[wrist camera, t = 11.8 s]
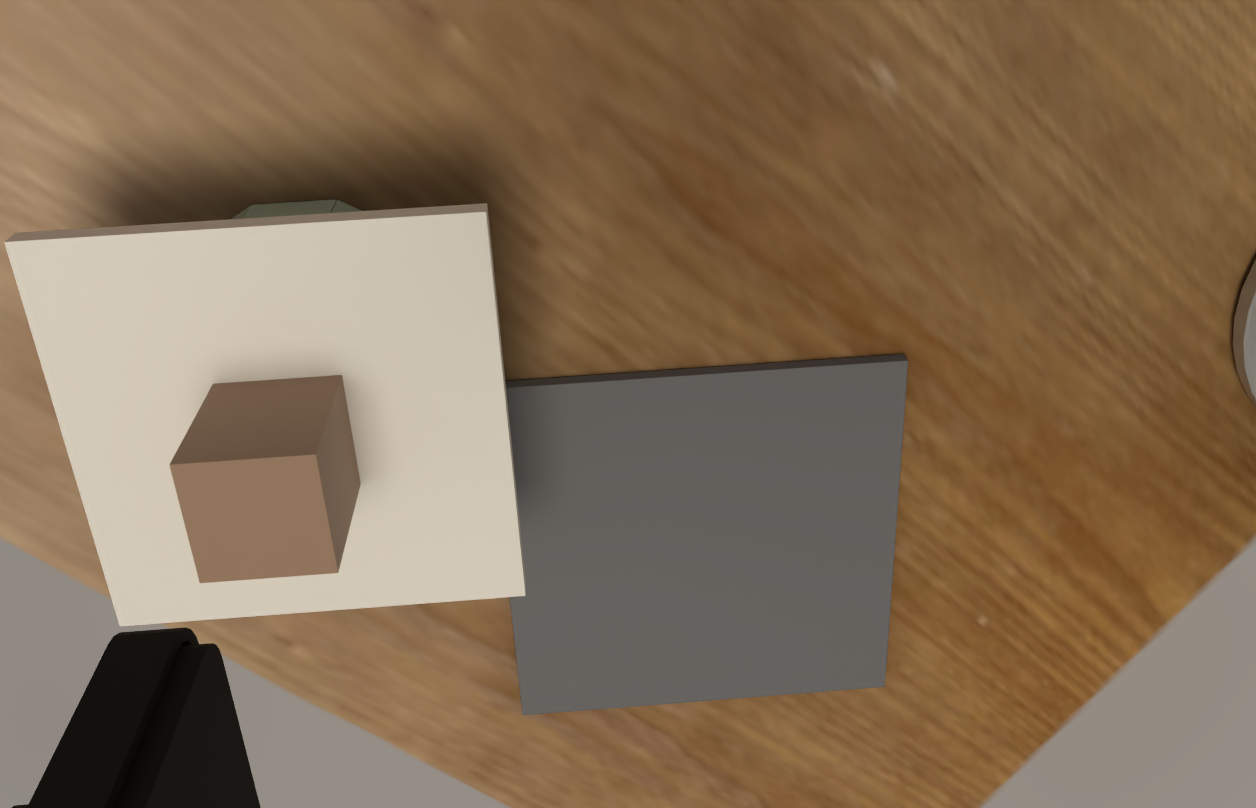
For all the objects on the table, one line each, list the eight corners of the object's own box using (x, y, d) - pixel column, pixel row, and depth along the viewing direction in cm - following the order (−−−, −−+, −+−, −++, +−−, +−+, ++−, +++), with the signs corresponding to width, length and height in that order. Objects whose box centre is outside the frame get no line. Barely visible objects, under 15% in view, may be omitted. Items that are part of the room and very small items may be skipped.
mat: (903, 353, 46) (908, 360, 46) (881, 677, 54) (884, 686, 53) (487, 382, 46) (487, 389, 45) (522, 705, 53) (522, 715, 53)
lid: (486, 203, 36) (478, 273, 31) (525, 582, 43) (524, 692, 38) (15, 232, 36) (-73, 309, 31) (126, 611, 42) (69, 727, 37)
